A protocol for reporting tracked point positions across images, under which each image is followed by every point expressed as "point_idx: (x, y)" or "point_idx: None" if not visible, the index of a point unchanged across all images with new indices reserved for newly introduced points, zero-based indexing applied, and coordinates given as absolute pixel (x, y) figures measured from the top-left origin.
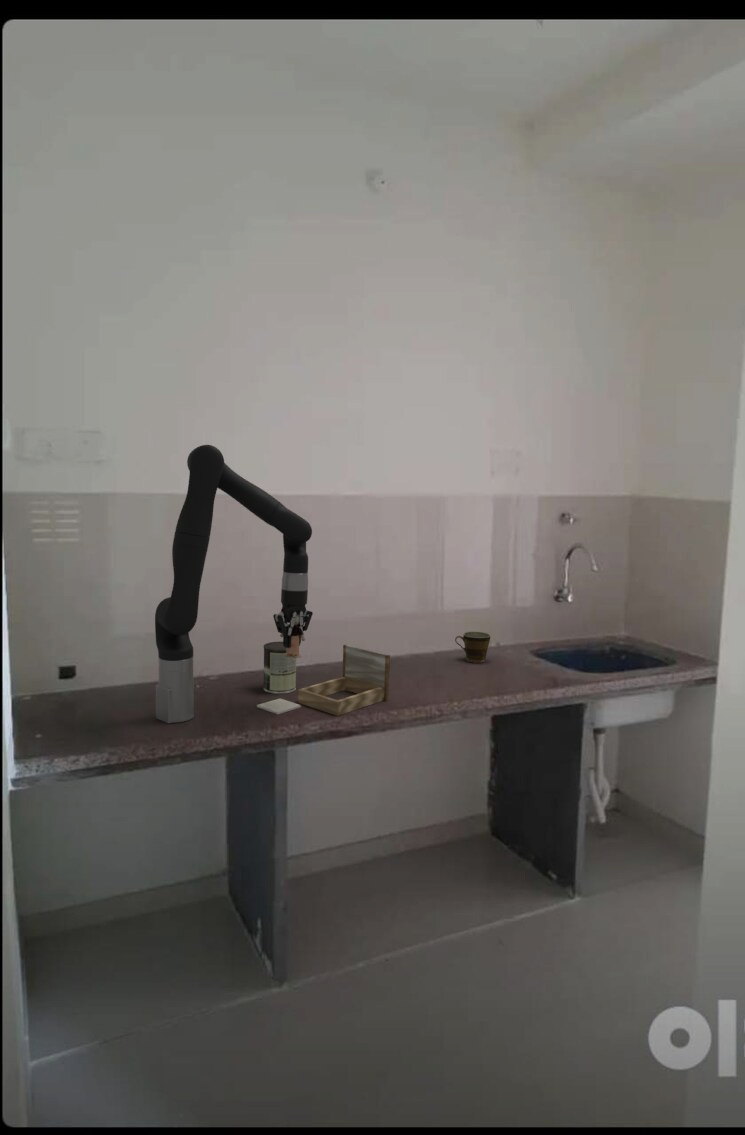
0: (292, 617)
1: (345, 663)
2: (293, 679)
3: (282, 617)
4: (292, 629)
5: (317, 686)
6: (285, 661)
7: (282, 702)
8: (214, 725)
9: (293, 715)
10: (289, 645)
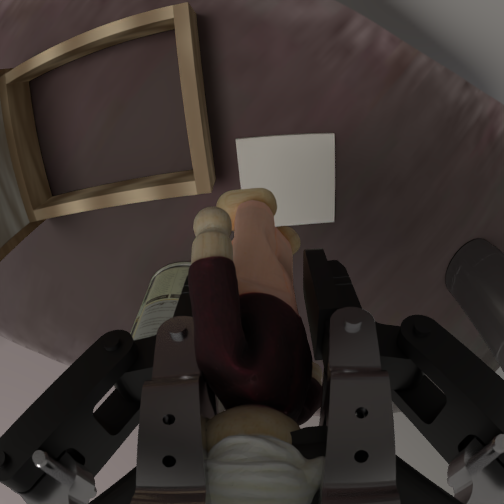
0: (398, 492)
1: (7, 240)
2: (162, 284)
3: (480, 471)
4: (292, 367)
5: (132, 189)
6: None
7: None
8: (469, 183)
9: (302, 94)
10: (319, 255)
